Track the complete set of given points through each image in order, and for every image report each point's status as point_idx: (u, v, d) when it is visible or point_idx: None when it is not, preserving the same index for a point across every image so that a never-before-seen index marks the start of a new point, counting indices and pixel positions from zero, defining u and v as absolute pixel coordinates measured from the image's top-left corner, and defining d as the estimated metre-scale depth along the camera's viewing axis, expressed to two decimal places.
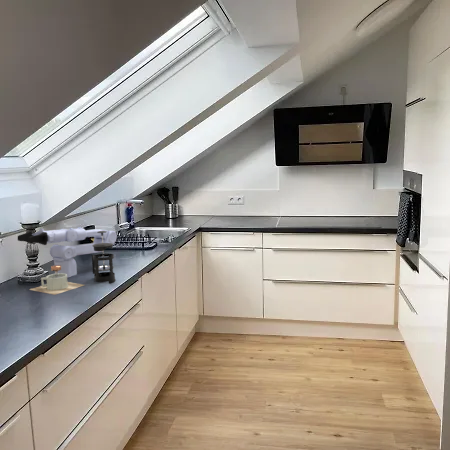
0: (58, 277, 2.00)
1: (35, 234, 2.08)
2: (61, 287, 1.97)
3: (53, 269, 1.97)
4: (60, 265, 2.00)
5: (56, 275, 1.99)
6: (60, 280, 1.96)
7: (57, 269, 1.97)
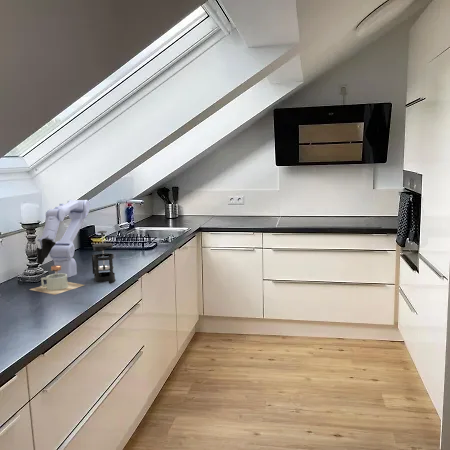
0: (58, 277, 2.00)
1: (42, 245, 2.05)
2: (61, 287, 1.97)
3: (53, 269, 1.97)
4: (60, 265, 2.00)
5: (56, 275, 1.99)
6: (60, 280, 1.96)
7: (57, 269, 1.97)
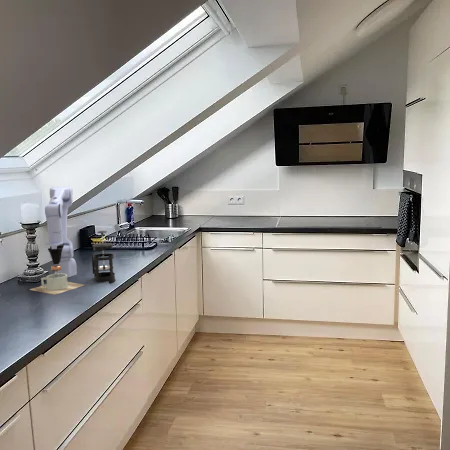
0: (58, 277, 2.00)
1: None
2: (61, 287, 1.97)
3: (53, 269, 1.97)
4: (60, 265, 2.00)
5: (56, 275, 1.99)
6: (60, 280, 1.96)
7: (57, 269, 1.97)
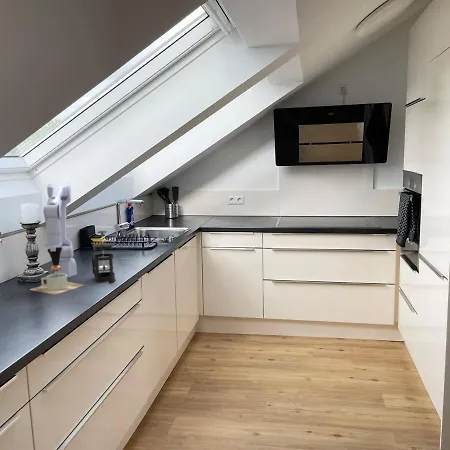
0: (58, 277, 2.00)
1: None
2: (61, 287, 1.97)
3: (53, 269, 1.97)
4: (60, 265, 2.00)
5: (56, 275, 1.99)
6: (60, 280, 1.96)
7: (57, 269, 1.97)
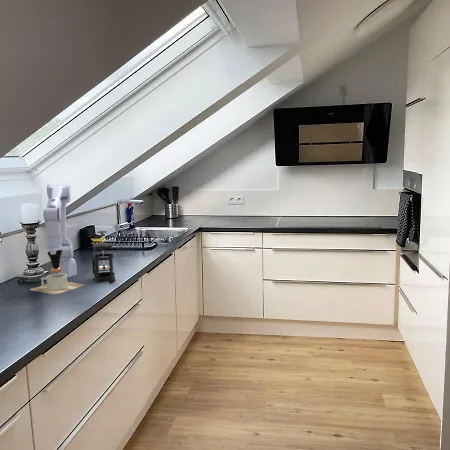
0: None
1: None
2: (61, 287, 1.97)
3: (53, 271, 1.97)
4: (60, 267, 2.00)
5: (56, 277, 1.99)
6: (60, 280, 1.96)
7: (57, 271, 1.98)
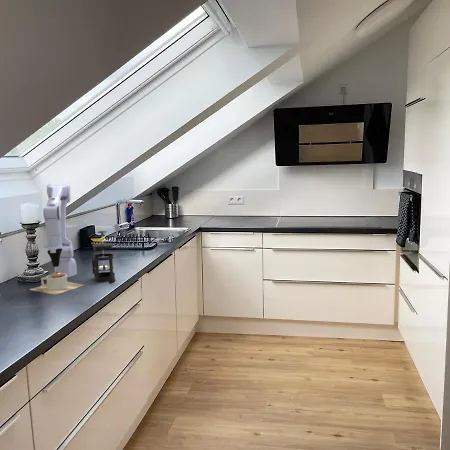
0: None
1: None
2: (61, 287, 1.97)
3: (54, 276, 1.98)
4: (60, 272, 2.00)
5: None
6: (60, 280, 1.96)
7: (58, 276, 1.98)
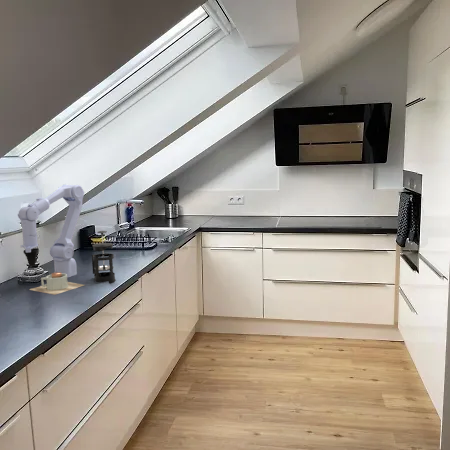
0: None
1: None
2: (61, 287, 1.97)
3: (54, 276, 1.98)
4: (60, 272, 2.00)
5: None
6: (60, 280, 1.96)
7: (58, 276, 1.98)
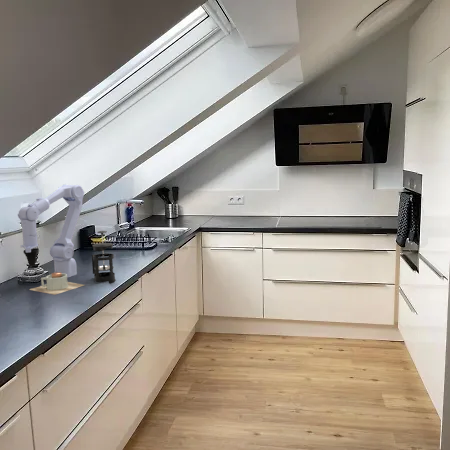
0: None
1: None
2: (61, 287, 1.97)
3: (54, 276, 1.98)
4: (60, 272, 2.00)
5: None
6: (60, 280, 1.96)
7: (58, 276, 1.98)
